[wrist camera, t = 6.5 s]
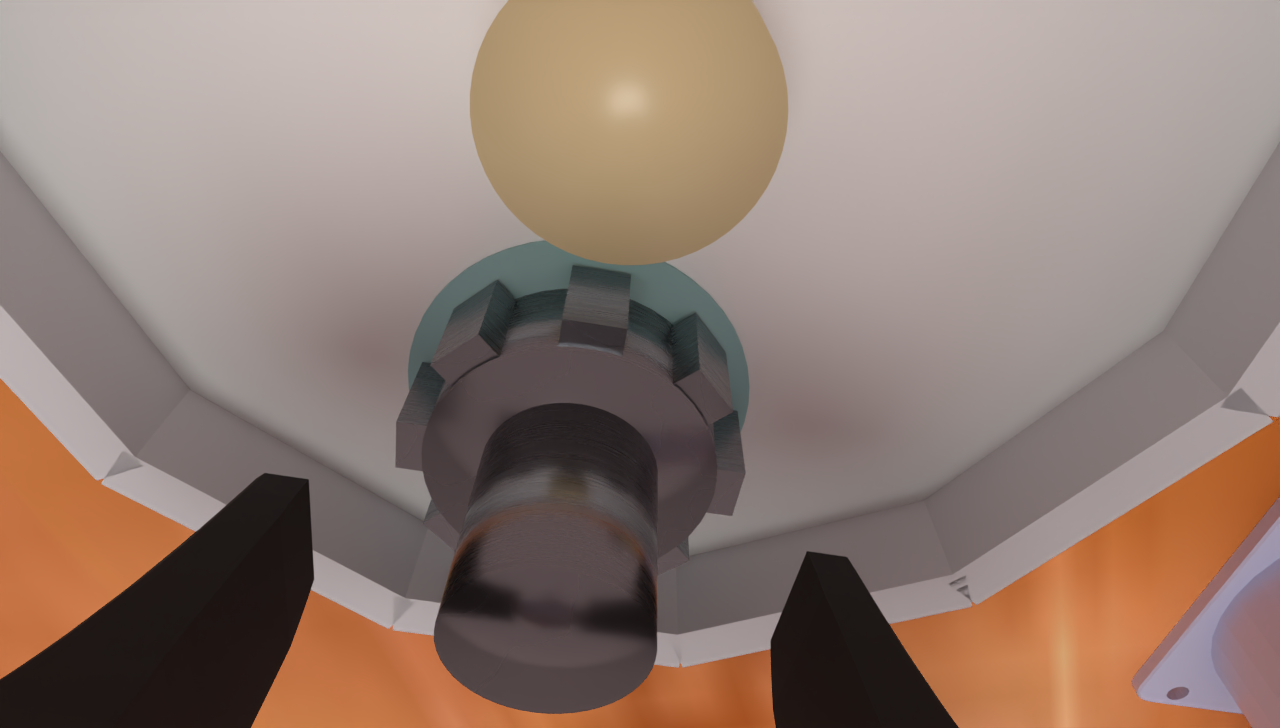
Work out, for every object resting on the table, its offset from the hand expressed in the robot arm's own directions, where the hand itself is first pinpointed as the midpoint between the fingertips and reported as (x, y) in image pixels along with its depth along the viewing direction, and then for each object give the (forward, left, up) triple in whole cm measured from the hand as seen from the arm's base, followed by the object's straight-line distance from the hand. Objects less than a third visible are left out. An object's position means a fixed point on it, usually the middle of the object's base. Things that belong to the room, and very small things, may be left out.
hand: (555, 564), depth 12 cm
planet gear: (0, 0, -4) cm, 4 cm away
